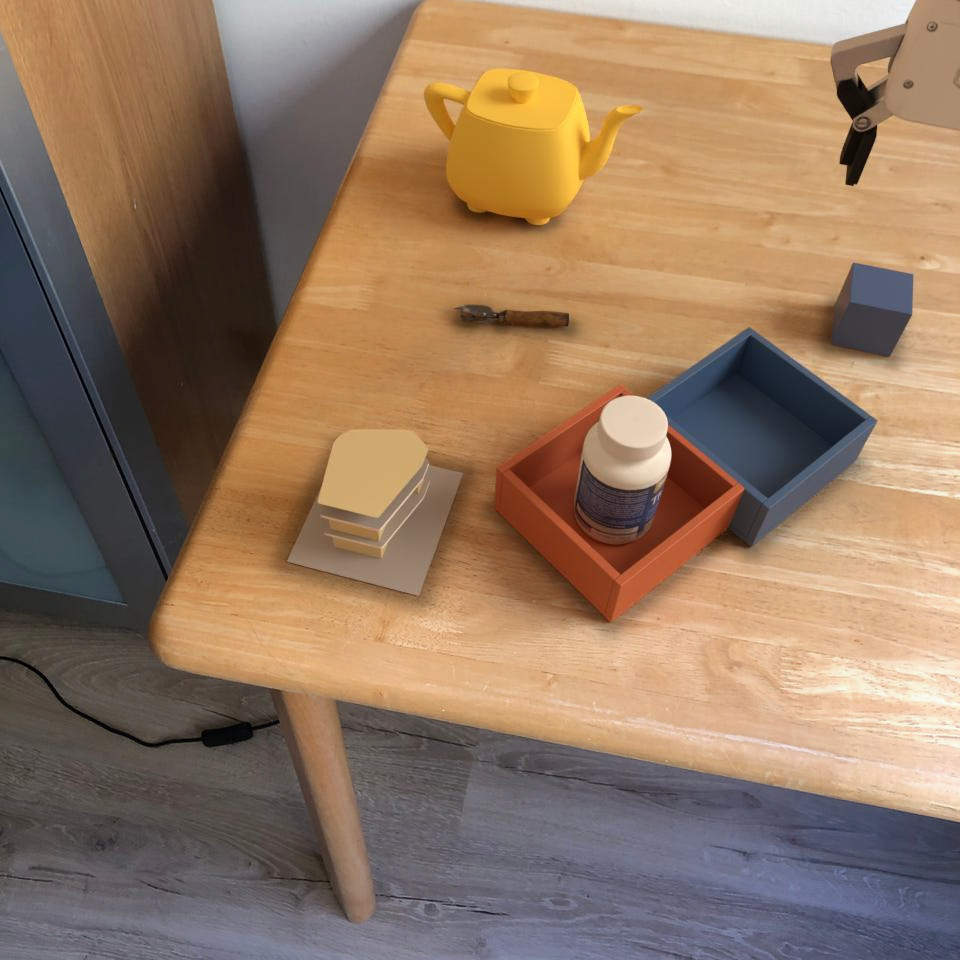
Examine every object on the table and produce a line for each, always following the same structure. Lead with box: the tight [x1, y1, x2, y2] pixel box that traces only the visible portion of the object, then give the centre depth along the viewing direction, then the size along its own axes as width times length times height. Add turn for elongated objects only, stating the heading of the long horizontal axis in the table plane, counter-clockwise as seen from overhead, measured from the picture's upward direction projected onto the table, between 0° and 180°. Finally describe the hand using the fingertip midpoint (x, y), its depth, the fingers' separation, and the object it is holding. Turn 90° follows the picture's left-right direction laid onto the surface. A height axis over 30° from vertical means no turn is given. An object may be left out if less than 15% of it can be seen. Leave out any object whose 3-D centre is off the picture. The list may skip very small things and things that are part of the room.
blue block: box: [830, 262, 915, 357], centre depth 74 cm, size 4×4×4 cm
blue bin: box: [645, 326, 878, 548], centre depth 66 cm, size 11×11×5 cm
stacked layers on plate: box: [286, 428, 464, 597], centre depth 62 cm, size 10×9×6 cm
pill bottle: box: [574, 395, 671, 545], centre depth 60 cm, size 5×5×10 cm
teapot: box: [423, 68, 644, 226], centre depth 80 cm, size 18×11×11 cm, turn 73°
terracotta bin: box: [493, 383, 745, 623], centre depth 63 cm, size 11×11×5 cm
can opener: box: [453, 303, 570, 328], centre depth 75 cm, size 9×2×1 cm, turn 80°
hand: (924, 186), depth 64 cm, fingers open, 9 cm apart
